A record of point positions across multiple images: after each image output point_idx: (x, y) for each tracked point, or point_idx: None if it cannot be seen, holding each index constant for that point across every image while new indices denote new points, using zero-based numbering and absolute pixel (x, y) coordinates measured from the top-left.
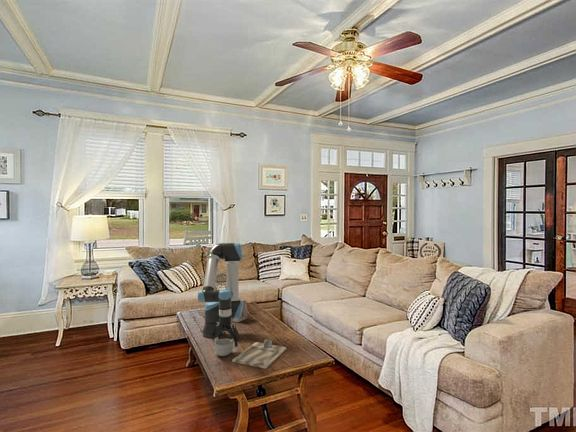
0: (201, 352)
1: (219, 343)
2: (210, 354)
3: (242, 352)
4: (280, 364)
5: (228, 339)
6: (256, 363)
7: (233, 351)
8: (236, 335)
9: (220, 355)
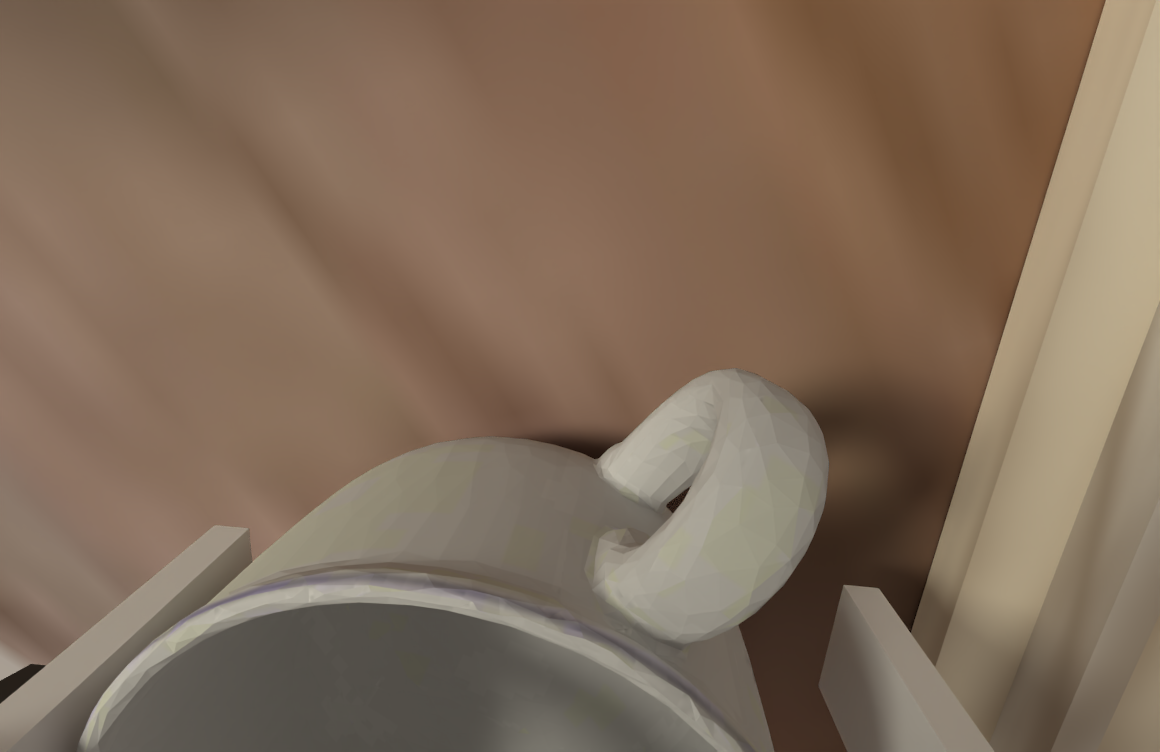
0: (12, 623)
1: (222, 636)
2: None
3: (1094, 664)
4: None
5: (478, 614)
6: None
7: (831, 703)
8: None
9: (520, 719)
